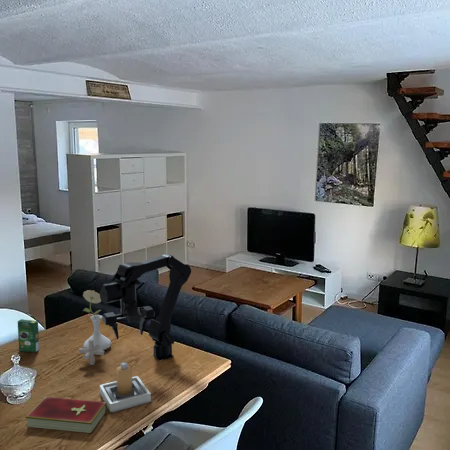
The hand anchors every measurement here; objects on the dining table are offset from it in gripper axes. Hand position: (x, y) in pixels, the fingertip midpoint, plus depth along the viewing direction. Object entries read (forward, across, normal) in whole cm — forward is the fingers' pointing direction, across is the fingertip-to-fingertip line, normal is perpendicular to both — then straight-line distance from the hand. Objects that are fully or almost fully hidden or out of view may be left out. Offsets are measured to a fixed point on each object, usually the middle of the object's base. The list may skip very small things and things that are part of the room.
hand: (129, 336), depth 178 cm
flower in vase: (+13, -7, +25) cm, 29 cm away
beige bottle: (+12, -8, -19) cm, 24 cm away
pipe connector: (+13, -12, +11) cm, 21 cm away
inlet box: (+13, -8, -19) cm, 24 cm away
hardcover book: (+14, -27, -23) cm, 38 cm away
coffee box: (+13, -32, +35) cm, 49 cm away
